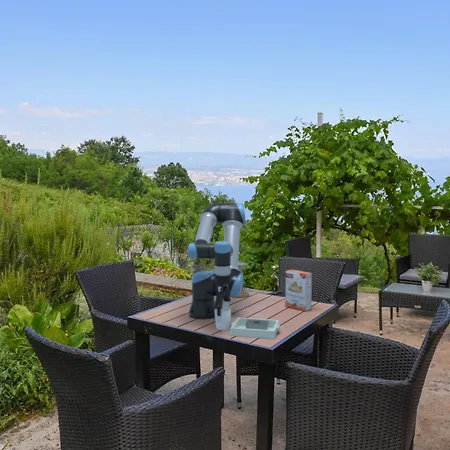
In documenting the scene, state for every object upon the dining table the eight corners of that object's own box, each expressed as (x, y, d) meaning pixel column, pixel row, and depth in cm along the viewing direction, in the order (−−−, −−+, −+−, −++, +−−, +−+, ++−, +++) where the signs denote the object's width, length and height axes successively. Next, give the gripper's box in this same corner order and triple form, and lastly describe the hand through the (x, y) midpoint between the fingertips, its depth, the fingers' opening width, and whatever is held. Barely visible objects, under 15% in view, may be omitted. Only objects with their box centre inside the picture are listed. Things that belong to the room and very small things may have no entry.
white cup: (230, 327, 228) (230, 307, 227) (231, 332, 220) (231, 311, 220) (214, 327, 228) (214, 307, 227) (214, 332, 220) (214, 311, 219)
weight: (245, 329, 222) (245, 321, 222) (247, 326, 226) (247, 319, 226) (266, 330, 220) (266, 323, 219) (267, 327, 224) (268, 320, 223)
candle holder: (238, 299, 283) (238, 266, 281) (225, 295, 292) (225, 263, 290) (253, 295, 291) (253, 263, 289) (239, 292, 300) (239, 261, 298)
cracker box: (284, 307, 264) (285, 270, 262) (291, 305, 269) (291, 269, 267) (305, 311, 254) (305, 273, 252) (311, 309, 259) (312, 272, 257)
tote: (227, 337, 213) (227, 328, 213) (235, 326, 229) (235, 317, 229) (277, 341, 208) (277, 331, 207) (281, 329, 224) (281, 320, 224)
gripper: (224, 279, 209) (224, 326, 210) (236, 270, 233) (236, 312, 235) (208, 278, 210) (208, 325, 212) (221, 269, 235) (221, 311, 236)
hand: (222, 318), depth 223 cm, fingers open, 13 cm apart
